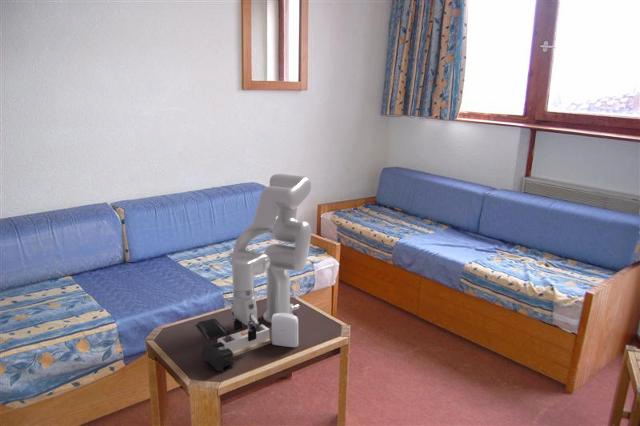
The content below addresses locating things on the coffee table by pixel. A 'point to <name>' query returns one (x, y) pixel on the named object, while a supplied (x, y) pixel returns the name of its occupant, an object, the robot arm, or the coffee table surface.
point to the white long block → (244, 339)
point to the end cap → (217, 356)
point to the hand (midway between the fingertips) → (245, 334)
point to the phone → (212, 329)
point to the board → (228, 339)
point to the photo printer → (285, 330)
